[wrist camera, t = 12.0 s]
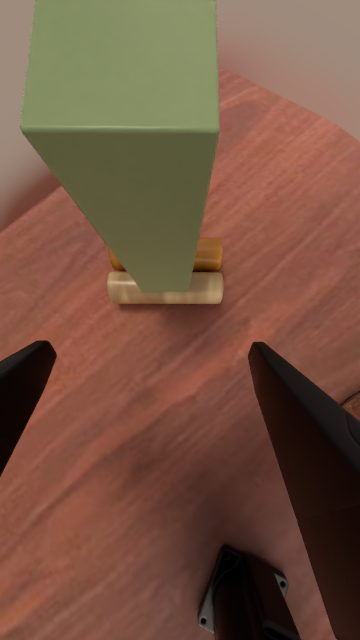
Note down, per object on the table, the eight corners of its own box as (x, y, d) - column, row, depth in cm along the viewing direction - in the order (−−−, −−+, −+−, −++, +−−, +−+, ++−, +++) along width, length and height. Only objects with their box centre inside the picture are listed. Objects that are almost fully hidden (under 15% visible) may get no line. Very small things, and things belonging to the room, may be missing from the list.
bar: (188, 291, 17) (221, 129, 4) (141, 291, 17) (16, 128, 4) (188, 239, 17) (215, -52, 4) (143, 239, 17) (39, -54, 4)
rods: (217, 306, 20) (224, 300, 17) (117, 306, 20) (105, 299, 17) (215, 248, 21) (222, 231, 18) (119, 247, 21) (109, 231, 17)
